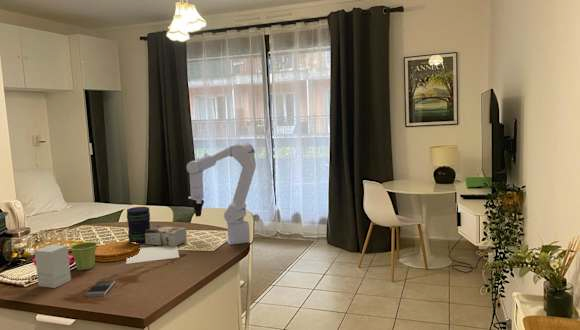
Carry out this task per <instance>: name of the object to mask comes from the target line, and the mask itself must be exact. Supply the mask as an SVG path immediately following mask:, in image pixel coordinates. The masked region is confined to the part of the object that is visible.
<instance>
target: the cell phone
mask: <svg viewBox="0 0 580 330" xmlns="http://www.w3.org/2000/svg"><path fill="white" fill-rule="evenodd" d="M115 284H116V281H115V280H101V281H96V282H95V283H94V284H93V285H92V286H91V288H90V289H89V290H87V291H86V293H85V296H86V297H87V298H94V297H98V298H99V297H104V296H106V295H107V294H108V293H109V291H110V290H111V289H112V287H114V285H115Z"/></svg>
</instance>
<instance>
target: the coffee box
mask: <svg viewBox="0 0 580 330" xmlns="http://www.w3.org/2000/svg"><path fill="white" fill-rule="evenodd" d="M187 241H188V240H187V227H174V226H162V225H156V226H154V227H150V229H147V230H145V243H144V245H145V244H146V245H153V246H154V245H155V246H156V245H157V246H173V247H175V246H177V247H178V246H180V245H182V244H184V243H186V242H187Z"/></svg>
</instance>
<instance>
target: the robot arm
mask: <svg viewBox="0 0 580 330" xmlns="http://www.w3.org/2000/svg"><path fill="white" fill-rule="evenodd" d="M255 153H256V150H255V149H254V147H253V146H252V144H251V143H249V142H244V143H239V144H234V145H230V146H228V147H226V148H224V149H222V150H220V151H217V152H216V153H214V154H212V153H208V152H207V153H204V155H203V156H201V157H200V158H199V157H197V158H195V160H192V161H191V160H190V161H189V162H188V163H187V164H186V171H187V173H189V184H190V185H189V187H190V189H189V190H190V196H188V199H189V200H190V202H191V205H192V206H193V210H194V215H195V217H201V216H202V211H203V206H204V204H205V201H204V199H205V196H204V182H203V181H204V180H203V176H204V171H205V170H209V168H213V167H214V166H216V164H217V162H218V161H221V160H223V159H226V158H227V157H229V158H233V159H234V160H236V161H237V162H238V163H239V164H240V166H241V167H242V168H241V171H240V174H239V179H238V182H237V186H236V188H235V192H234V195H233V198H232V201H231V203H230V204H229V205H228V208H227V209H226V210H225V211H224V214H223V218H224V220H225V221H226V224H227V238H226V242H227V244H228V245H238V244H247V243H251V239H250V238H251V237H250V236H251V235H250V234H251V233H250V223H249V221H248V220H245V219H244V218H245V217H246V214H247V210H246V209H247V204H246V199H247V198H248V197H247V196H248V193H249V190H250V188H251V184H252V180H253V177H254V173H255V171H256V168H257V163H256V158H255Z"/></svg>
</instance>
